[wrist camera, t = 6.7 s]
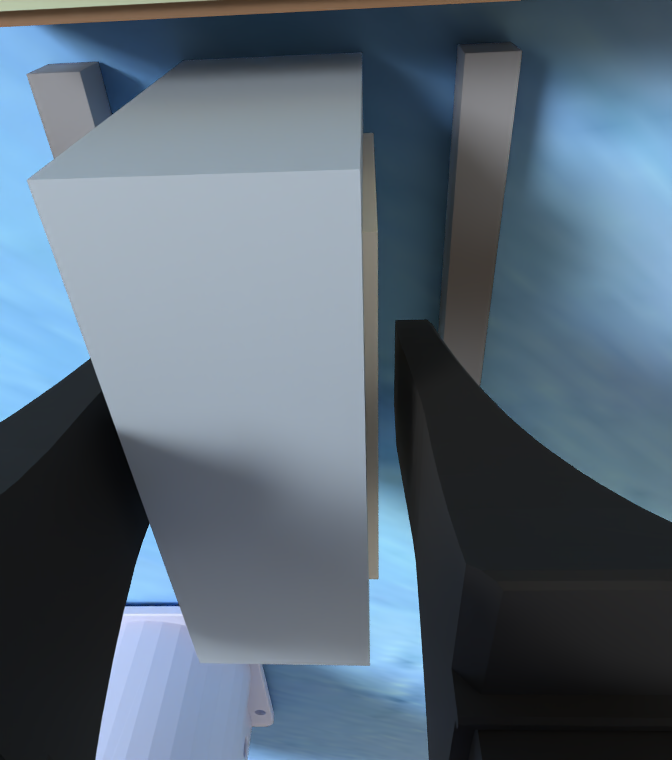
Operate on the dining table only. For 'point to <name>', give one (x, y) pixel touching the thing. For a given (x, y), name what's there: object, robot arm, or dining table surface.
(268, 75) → the grey rectangular block
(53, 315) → the dining table surface
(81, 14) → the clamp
